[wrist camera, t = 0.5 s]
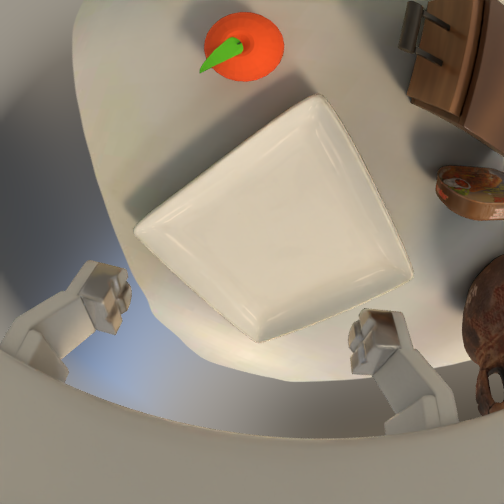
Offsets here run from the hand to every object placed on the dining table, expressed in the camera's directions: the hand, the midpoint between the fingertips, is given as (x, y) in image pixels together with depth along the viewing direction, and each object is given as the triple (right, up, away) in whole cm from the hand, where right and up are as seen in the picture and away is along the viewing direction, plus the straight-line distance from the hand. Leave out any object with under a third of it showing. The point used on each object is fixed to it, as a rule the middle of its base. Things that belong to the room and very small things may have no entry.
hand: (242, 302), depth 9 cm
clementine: (0, +22, +14) cm, 25 cm away
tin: (+28, +11, +18) cm, 36 cm away
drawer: (+22, +22, +9) cm, 32 cm away
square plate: (+4, +3, +27) cm, 28 cm away
